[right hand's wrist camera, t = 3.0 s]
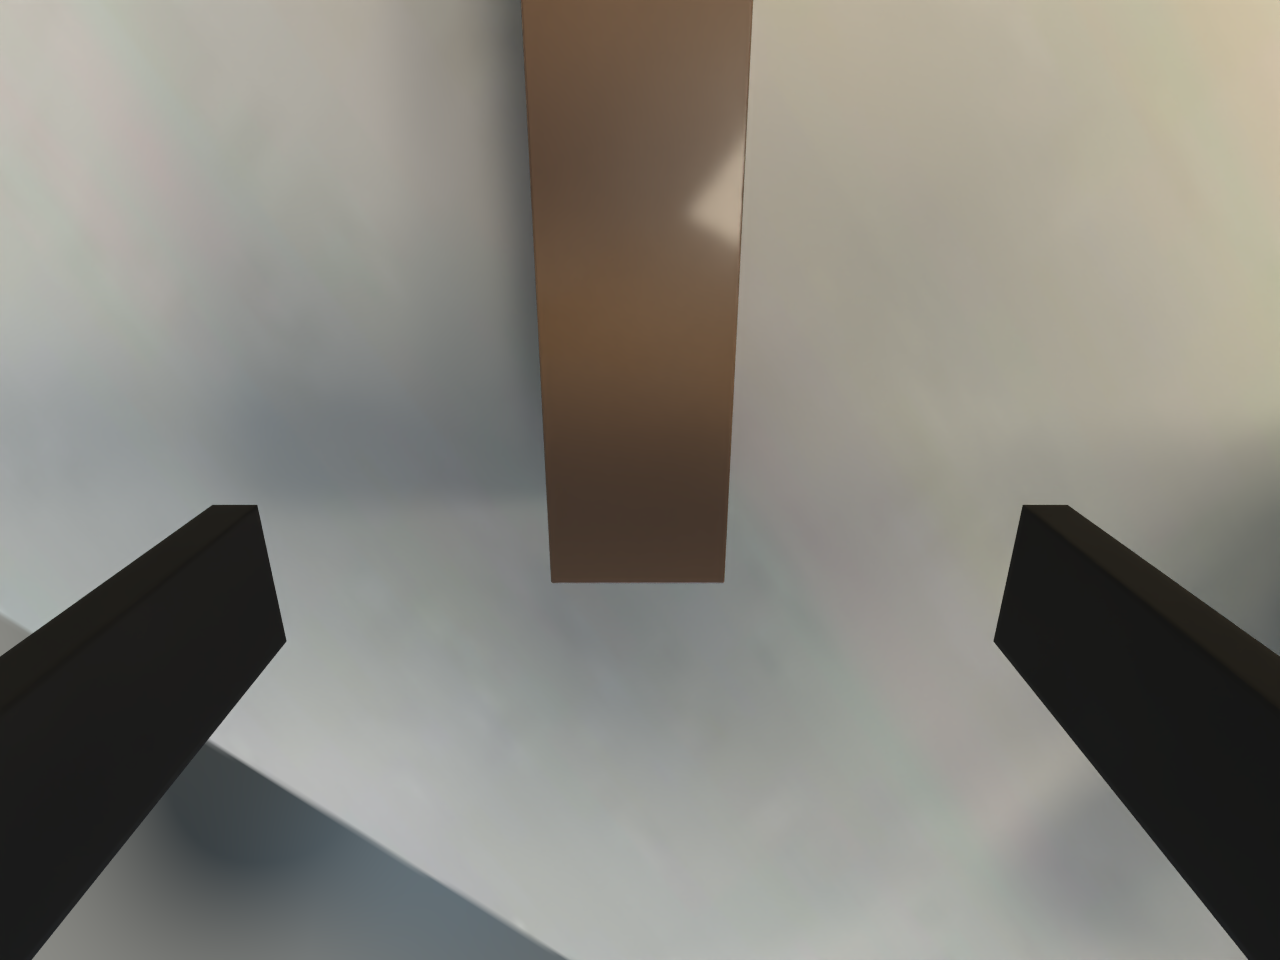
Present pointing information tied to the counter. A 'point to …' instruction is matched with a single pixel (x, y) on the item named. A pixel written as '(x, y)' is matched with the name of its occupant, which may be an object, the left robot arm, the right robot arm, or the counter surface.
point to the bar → (637, 277)
